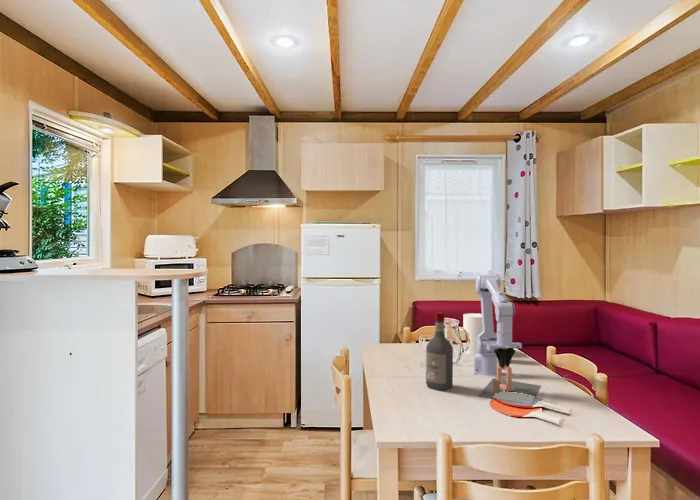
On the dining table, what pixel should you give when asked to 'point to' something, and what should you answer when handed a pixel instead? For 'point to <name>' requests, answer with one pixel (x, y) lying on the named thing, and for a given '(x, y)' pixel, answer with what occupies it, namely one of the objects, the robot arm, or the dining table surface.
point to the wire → (497, 383)
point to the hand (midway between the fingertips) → (504, 367)
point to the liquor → (439, 358)
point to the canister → (473, 330)
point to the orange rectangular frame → (508, 384)
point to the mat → (518, 387)
